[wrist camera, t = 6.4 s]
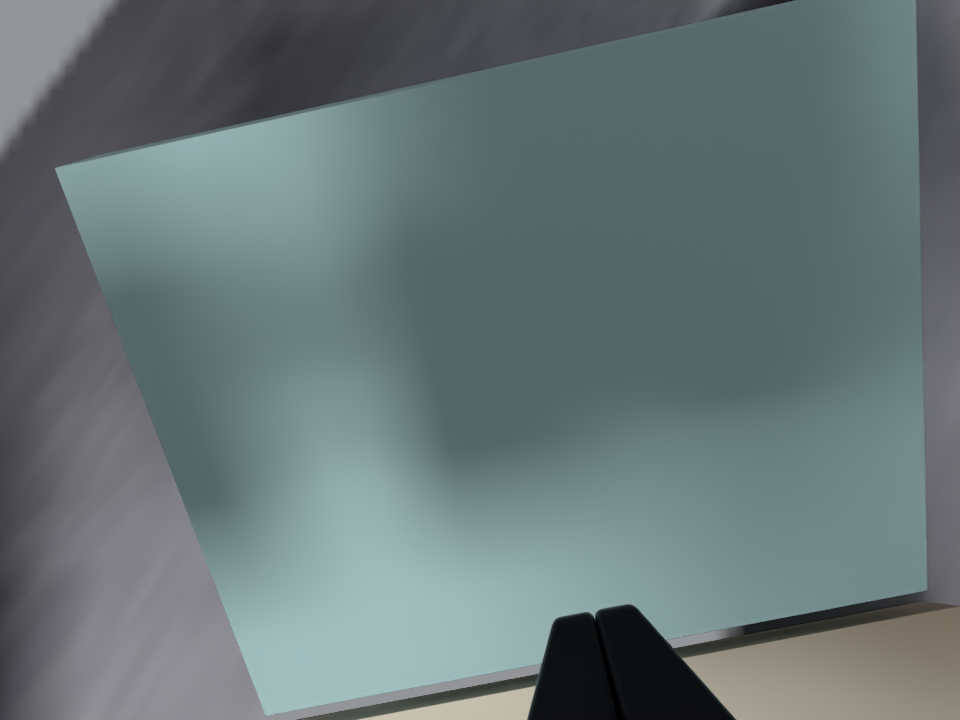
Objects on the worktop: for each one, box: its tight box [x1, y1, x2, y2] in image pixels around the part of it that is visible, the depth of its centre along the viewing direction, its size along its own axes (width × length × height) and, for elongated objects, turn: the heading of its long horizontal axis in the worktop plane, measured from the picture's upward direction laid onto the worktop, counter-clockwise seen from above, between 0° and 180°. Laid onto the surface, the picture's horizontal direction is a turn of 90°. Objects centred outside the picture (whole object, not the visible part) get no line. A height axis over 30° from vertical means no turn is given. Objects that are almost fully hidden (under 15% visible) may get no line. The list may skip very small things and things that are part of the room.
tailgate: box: [55, 0, 927, 716], centre depth 14 cm, size 2×12×10 cm
